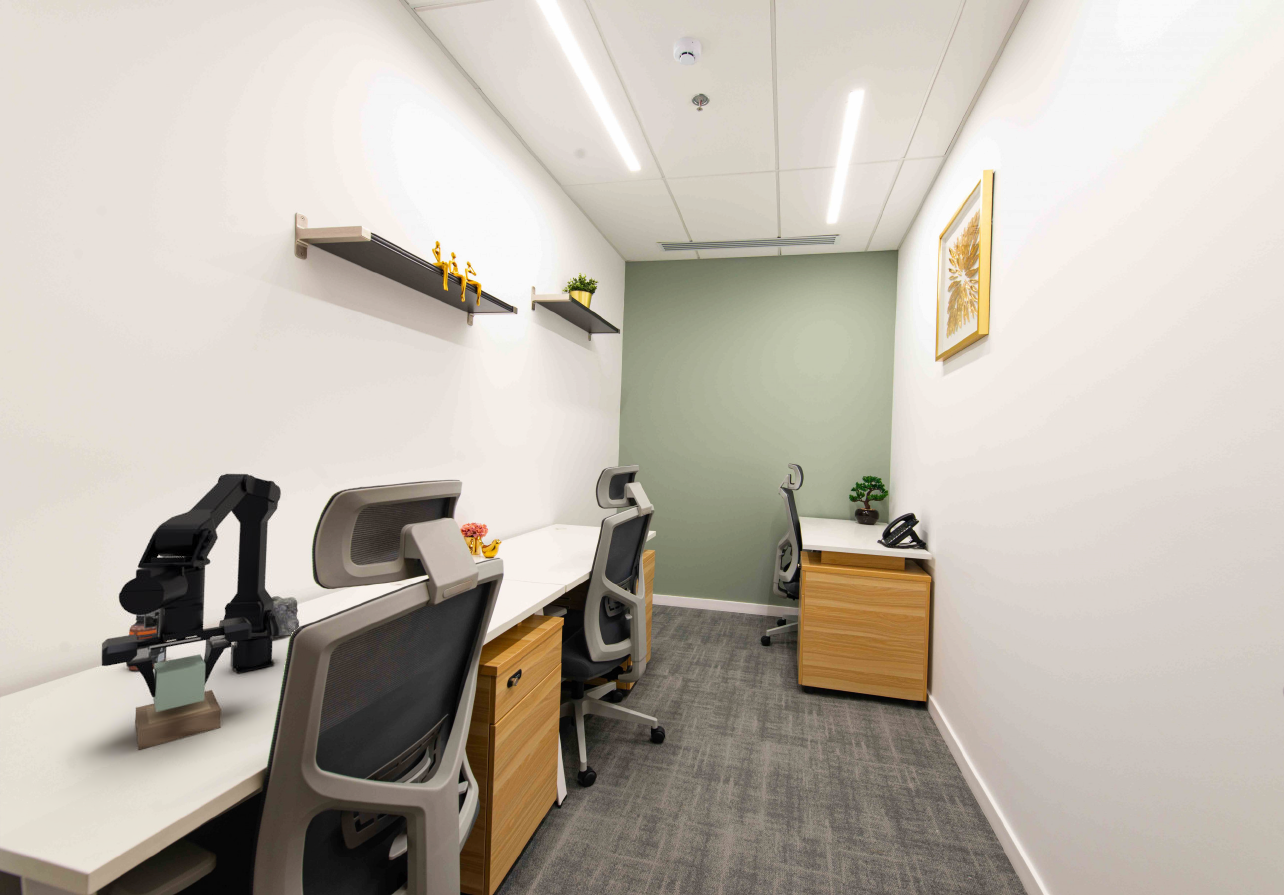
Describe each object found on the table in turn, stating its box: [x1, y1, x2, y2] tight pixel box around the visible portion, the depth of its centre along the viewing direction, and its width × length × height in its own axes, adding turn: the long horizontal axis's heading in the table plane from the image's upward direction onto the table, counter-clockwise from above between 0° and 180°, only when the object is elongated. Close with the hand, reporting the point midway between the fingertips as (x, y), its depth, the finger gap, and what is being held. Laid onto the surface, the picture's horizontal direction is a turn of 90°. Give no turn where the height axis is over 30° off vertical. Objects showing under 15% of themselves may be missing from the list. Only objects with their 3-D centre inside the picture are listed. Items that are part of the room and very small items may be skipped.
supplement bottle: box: [127, 615, 168, 672], centre depth 114 cm, size 6×6×11 cm
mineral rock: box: [271, 595, 300, 637], centre depth 132 cm, size 13×11×10 cm
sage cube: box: [152, 654, 206, 712], centre depth 90 cm, size 6×6×6 cm
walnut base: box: [134, 689, 222, 751], centre depth 90 cm, size 10×10×3 cm
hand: (179, 690), depth 90 cm, fingers closed on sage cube, 6 cm apart
